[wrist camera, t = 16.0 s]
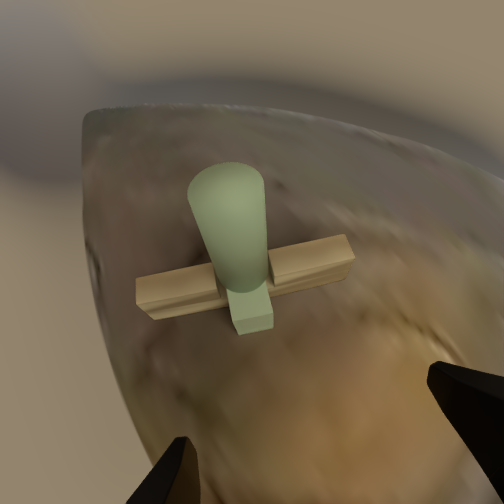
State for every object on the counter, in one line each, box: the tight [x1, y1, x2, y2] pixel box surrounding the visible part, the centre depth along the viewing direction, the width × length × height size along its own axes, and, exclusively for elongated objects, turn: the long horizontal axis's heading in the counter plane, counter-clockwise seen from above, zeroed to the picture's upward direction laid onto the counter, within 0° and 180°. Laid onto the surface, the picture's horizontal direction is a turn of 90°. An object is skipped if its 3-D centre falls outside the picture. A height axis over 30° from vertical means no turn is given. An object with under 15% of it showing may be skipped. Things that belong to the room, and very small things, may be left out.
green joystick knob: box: [187, 162, 273, 335], centre depth 20 cm, size 8×4×13 cm, turn 12°
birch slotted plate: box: [136, 234, 355, 320], centre depth 23 cm, size 2×18×4 cm, turn 102°
